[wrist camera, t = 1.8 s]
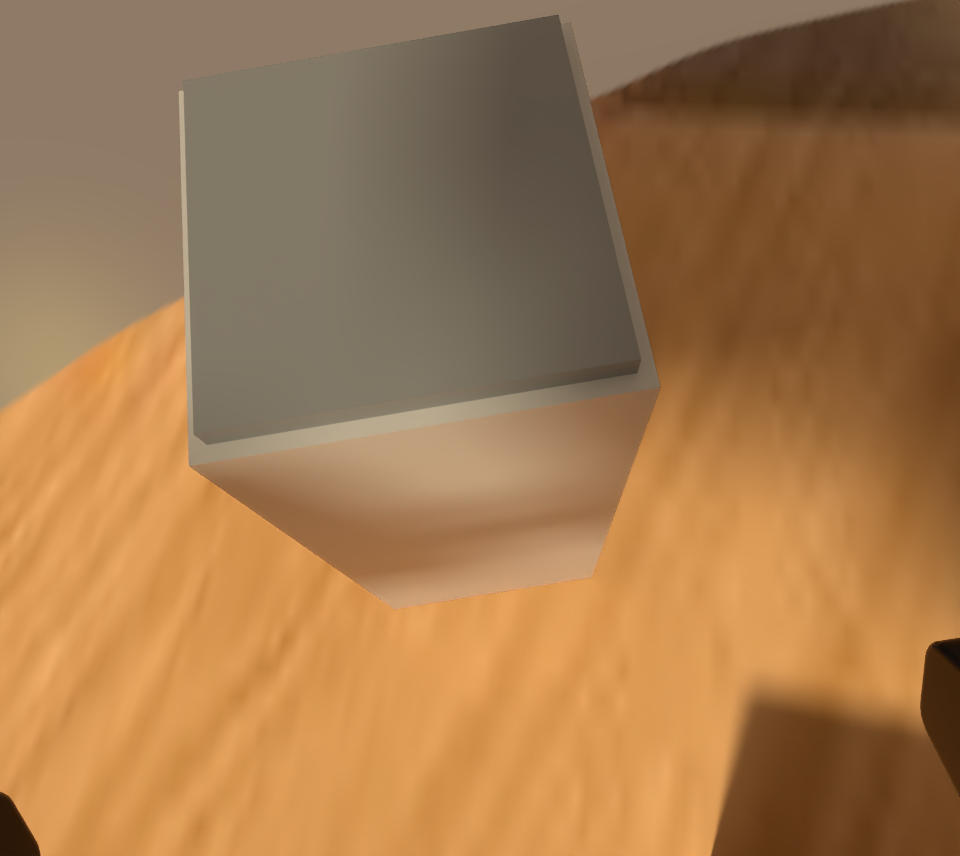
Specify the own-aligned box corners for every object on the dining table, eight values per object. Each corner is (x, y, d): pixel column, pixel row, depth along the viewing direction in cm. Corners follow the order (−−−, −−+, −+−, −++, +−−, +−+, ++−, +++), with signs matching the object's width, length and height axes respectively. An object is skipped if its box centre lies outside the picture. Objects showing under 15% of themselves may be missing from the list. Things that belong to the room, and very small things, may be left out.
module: (591, 577, 20) (665, 373, 8) (394, 609, 20) (174, 455, 8) (553, 386, 22) (567, -16, 10) (372, 416, 22) (166, 55, 10)
